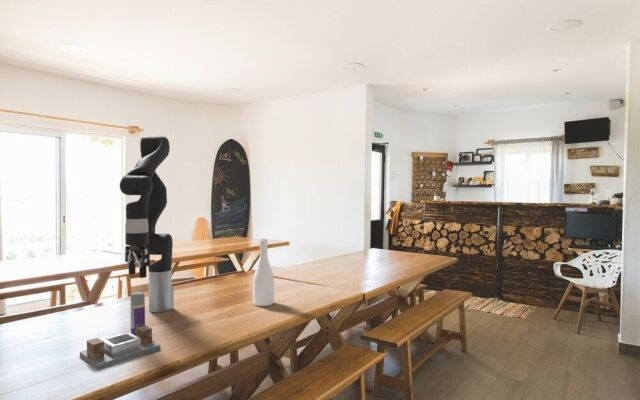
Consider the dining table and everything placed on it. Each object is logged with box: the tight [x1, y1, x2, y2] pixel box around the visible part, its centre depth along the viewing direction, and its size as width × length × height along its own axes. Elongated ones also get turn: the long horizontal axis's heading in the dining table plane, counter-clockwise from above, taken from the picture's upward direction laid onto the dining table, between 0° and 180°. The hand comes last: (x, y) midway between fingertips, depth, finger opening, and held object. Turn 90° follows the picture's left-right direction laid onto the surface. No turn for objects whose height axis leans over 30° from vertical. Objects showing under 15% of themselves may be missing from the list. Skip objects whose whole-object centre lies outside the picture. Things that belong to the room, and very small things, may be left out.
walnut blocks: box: [86, 324, 153, 360], centre depth 124 cm, size 18×5×4 cm, turn 140°
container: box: [130, 291, 146, 336], centre depth 140 cm, size 5×5×15 cm
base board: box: [79, 340, 161, 371], centre depth 124 cm, size 19×14×2 cm
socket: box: [100, 331, 141, 356], centre depth 124 cm, size 9×9×3 cm
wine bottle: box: [252, 238, 275, 307], centre depth 178 cm, size 10×10×30 cm
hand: (137, 276), depth 140 cm, fingers open, 8 cm apart
